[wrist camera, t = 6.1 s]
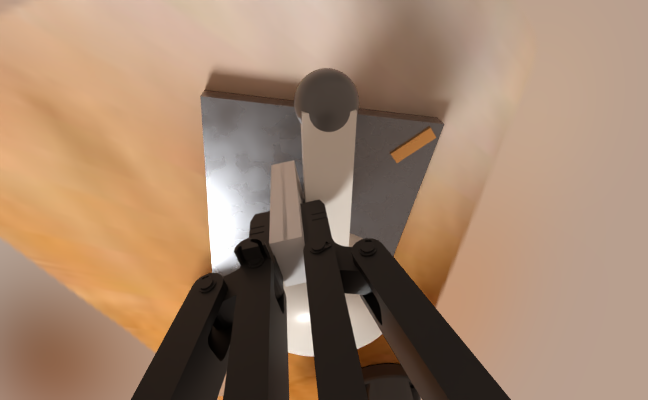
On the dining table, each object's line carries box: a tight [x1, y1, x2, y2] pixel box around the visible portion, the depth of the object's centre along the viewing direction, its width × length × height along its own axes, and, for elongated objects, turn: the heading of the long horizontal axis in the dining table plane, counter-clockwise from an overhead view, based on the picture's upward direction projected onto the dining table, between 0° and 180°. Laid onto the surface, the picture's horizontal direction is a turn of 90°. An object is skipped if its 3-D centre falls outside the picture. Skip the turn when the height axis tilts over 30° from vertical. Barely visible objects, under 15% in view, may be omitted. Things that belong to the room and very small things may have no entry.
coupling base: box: [201, 90, 444, 277], centre depth 28 cm, size 20×20×10 cm
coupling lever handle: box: [283, 68, 382, 357], centre depth 20 cm, size 20×9×4 cm, turn 0°
